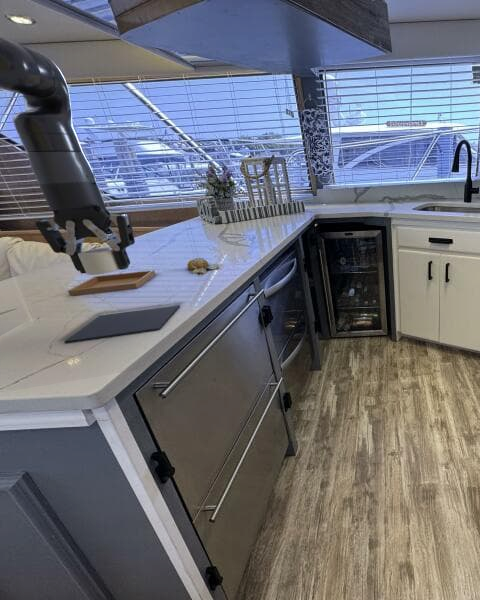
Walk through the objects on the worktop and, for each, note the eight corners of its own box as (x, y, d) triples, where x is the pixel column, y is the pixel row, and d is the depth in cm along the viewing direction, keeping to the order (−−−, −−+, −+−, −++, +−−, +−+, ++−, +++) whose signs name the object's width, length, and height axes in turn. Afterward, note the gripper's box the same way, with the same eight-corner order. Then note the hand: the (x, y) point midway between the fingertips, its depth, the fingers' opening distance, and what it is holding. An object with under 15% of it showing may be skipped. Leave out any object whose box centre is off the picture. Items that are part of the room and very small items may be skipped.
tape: (79, 276, 60) (69, 255, 59) (97, 267, 66) (88, 248, 64) (115, 272, 62) (106, 252, 60) (129, 264, 67) (122, 245, 65)
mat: (64, 343, 61) (63, 341, 61) (100, 316, 72) (99, 315, 72) (159, 329, 65) (158, 328, 65) (180, 306, 76) (179, 305, 75)
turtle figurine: (198, 275, 97) (195, 264, 96) (180, 273, 100) (177, 261, 99) (222, 267, 104) (219, 256, 103) (204, 265, 107) (201, 254, 106)
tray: (71, 298, 84) (67, 290, 83) (97, 283, 94) (94, 276, 94) (138, 290, 87) (135, 283, 86) (156, 276, 98) (154, 270, 97)
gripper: (-1, 183, 52) (48, 281, 59) (103, 178, 55) (138, 271, 62) (34, 181, 59) (74, 269, 65) (125, 177, 62) (155, 261, 69)
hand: (105, 270), depth 64 cm, fingers closed on tape, 6 cm apart
